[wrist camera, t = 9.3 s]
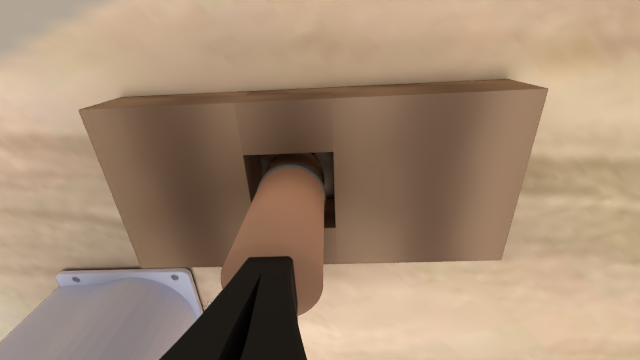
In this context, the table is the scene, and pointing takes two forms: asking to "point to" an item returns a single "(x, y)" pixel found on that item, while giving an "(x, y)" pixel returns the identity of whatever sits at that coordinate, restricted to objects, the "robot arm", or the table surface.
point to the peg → (286, 224)
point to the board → (348, 162)
